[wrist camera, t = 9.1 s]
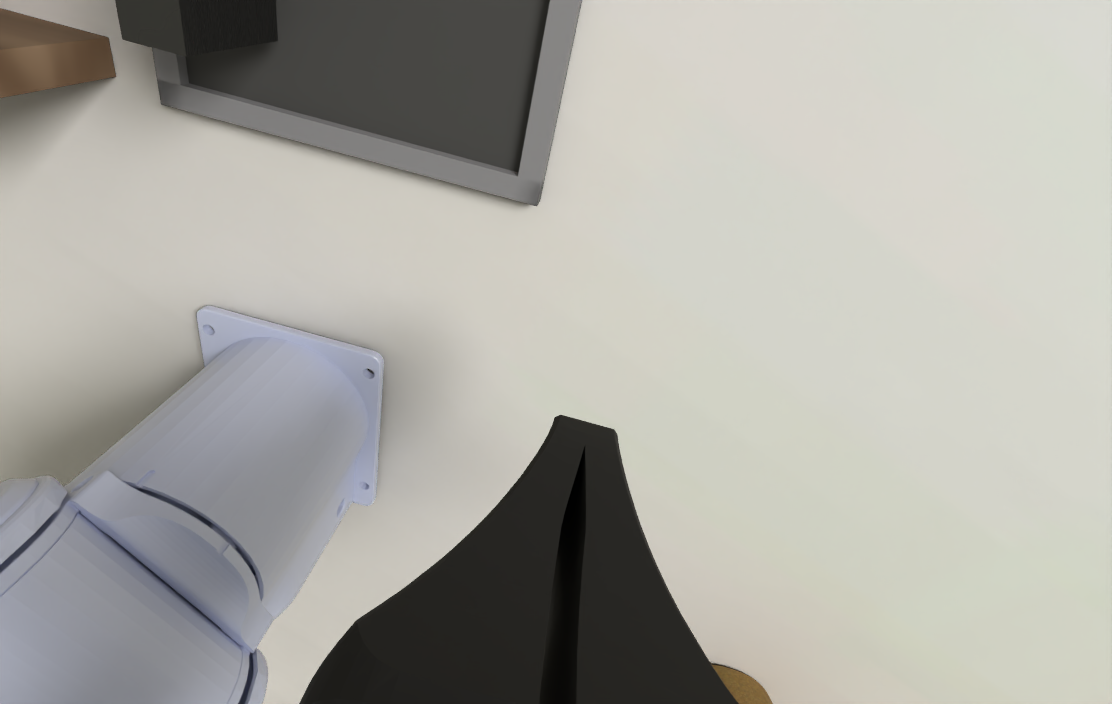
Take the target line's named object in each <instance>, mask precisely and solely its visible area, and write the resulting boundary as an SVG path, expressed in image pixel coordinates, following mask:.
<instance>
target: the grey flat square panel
mask: <svg viewBox="0 0 1112 704" xmlns="http://www.w3.org/2000/svg"><path fill="white" fill-rule="evenodd" d="M581 3H582V0H276V11H277V31H278V41H276V42H270V43H264V44H258V45H252V46H246V47H240V48H235V49H229V50H223V51H217V52H211V53H205V54H199V55H193V56H187V57H185V56H182V55H178V54H174V53H171V52H167V51H163V50H160V49H156V48H152V51H153V57H154V63H155V69H156V75H157V82H158V88H159V94H160V100H161V104H162V105H165V106H169V107H173V108H176V109H180V110H184V111H188V112H191V113H195V114H199V115H202V116H206V117H210V118H213V119H217V120H221V121H224V122H228V123H232V124H235V125H239V126H243V127H246V128H250V129H254V130H258V131H261V132H265V133H269V134H272V135H276V136H280V137H283V138H287V139H291V140H294V141H298V142H302V143H305V144H309V145H313V146H316V147H320V148H324V149H328V150H331V151H335V152H339V153H342V154H346V155H350V156H353V157H357V158H361V159H364V160H368V161H372V162H375V163H379V164H383V165H386V166H390V167H394V168H398V169H401V170H405V171H409V172H412V173H416V174H420V175H423V176H427V177H431V178H434V179H438V180H442V181H445V182H449V183H453V184H457V185H460V186H464V187H468V188H471V189H475V190H479V191H482V192H486V193H490V194H493V195H497V196H501V197H504V198H508V199H512V200H515V201H519V202H523V203H527V204H530V205H534V206H537V205H538V203H539V202H540V199H541V194H542V189H543V184H544V180H545V175H546V170H547V165H548V160H549V156H550V151H551V146H552V141H553V137H554V132H555V127H556V122H557V118H558V113H559V108H560V103H561V98H562V94H563V89H564V84H565V79H566V75H567V70H568V65H569V60H570V55H571V51H572V46H573V41H574V36H575V32H576V27H577V22H578V17H579V12H580V8H581Z"/></svg>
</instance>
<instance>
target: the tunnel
mask: <svg viewBox="0 0 1112 704" xmlns="http://www.w3.org/2000/svg"><path fill="white" fill-rule="evenodd" d="M111 77H116V74H115V69H114V64H113V59H112V54H111V49H110V44H109V39H108V37H104V36H101V35H97V34H93V33H89V32H86V31H82V30H78V29H75V28H71V27H67V26H64V25H60V24H56V23H53V22H49V21H45V20H41V19H38V18H34V17H30V16H27V15H23V14H19V13H16V12H12V11H8V10H4V9H1V8H0V98H3V97H8V96H13V95H19V94H24V93H30V92H35V91H41V90H46V89H51V88H57V87H62V86H68V85H73V84H79V83H84V82H89V81H95V80H100V79H106V78H111Z"/></svg>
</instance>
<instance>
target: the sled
mask: <svg viewBox="0 0 1112 704" xmlns="http://www.w3.org/2000/svg"><path fill="white" fill-rule="evenodd" d="M115 1H116V7H117V12H118V18H119V23H120V28H121V34H122V39H123V40H126V41H130V42H134V43H137V44H141V45H145V46H148V47H152V48H156V49H160V50H163V51H167V52H171V53H174V54H178V55H182V56H185V57H187V56H193V55H199V54H205V53H211V52H217V51H223V50H229V49H235V48H240V47H246V46H252V45H258V44H264V43H270V42H276V41H278V31H277V11H276V0H115Z"/></svg>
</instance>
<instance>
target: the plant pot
mask: <svg viewBox="0 0 1112 704" xmlns="http://www.w3.org/2000/svg"><path fill="white" fill-rule="evenodd" d="M711 665H712V664H711ZM712 666H713V668H714V669H715V671H716V672H717V674H718V675H719V677H720V678H721V680H722V681H723V683H724V684H725V686H726V687H727V689H728V690H729V691H730V693H731V694H732V695H733V697H734V698H735V699H736V701H737V702H738V703H739V704H773V703H772V701H771V700H770V698H769V696H768V694H767V692H766V691H765V689H764V688H763V687H762V686H761V685H760V684H759V683H758V682H757V681H756V680H754V679H753V678H751V677H750V676H748V675H746V674H744V673H742V672H740V671H737V670H734V669H731V668H727V667H724V666H718V665H712Z"/></svg>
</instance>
